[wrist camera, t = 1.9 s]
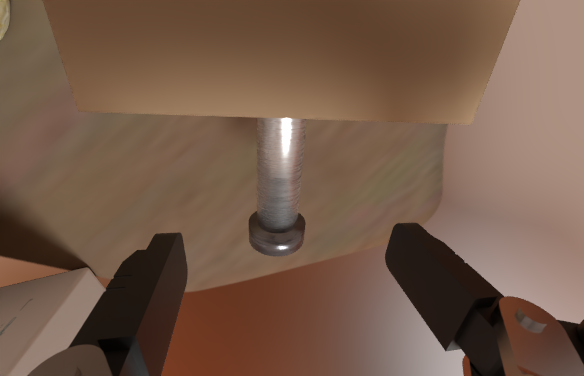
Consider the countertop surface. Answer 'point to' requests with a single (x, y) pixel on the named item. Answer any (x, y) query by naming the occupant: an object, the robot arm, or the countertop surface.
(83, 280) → the tall white carton
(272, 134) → the shaft
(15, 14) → the countertop surface
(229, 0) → the block
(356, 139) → the countertop surface
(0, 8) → the bread roll
